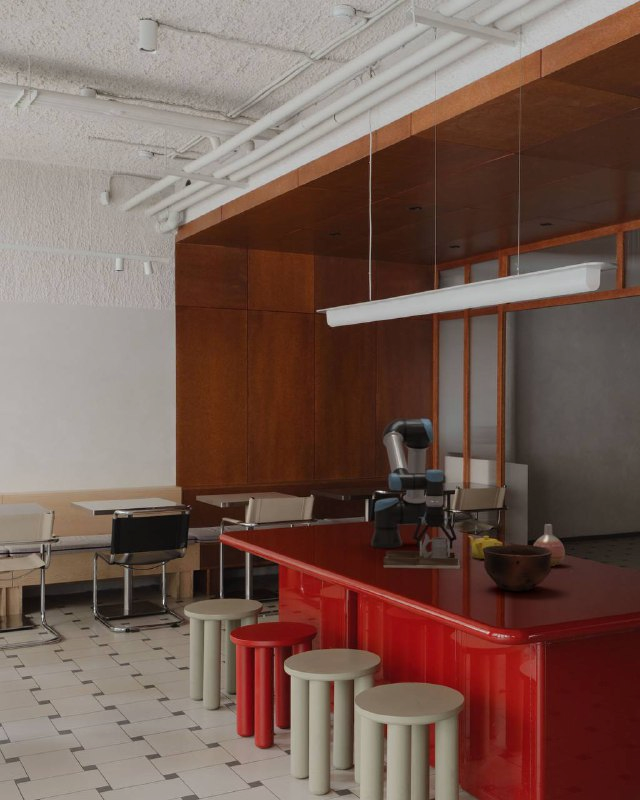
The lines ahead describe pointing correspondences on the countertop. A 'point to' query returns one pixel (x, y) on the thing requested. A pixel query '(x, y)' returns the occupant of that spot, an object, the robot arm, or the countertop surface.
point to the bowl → (517, 566)
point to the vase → (551, 545)
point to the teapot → (482, 545)
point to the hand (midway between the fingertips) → (434, 556)
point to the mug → (435, 547)
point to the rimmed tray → (419, 560)
